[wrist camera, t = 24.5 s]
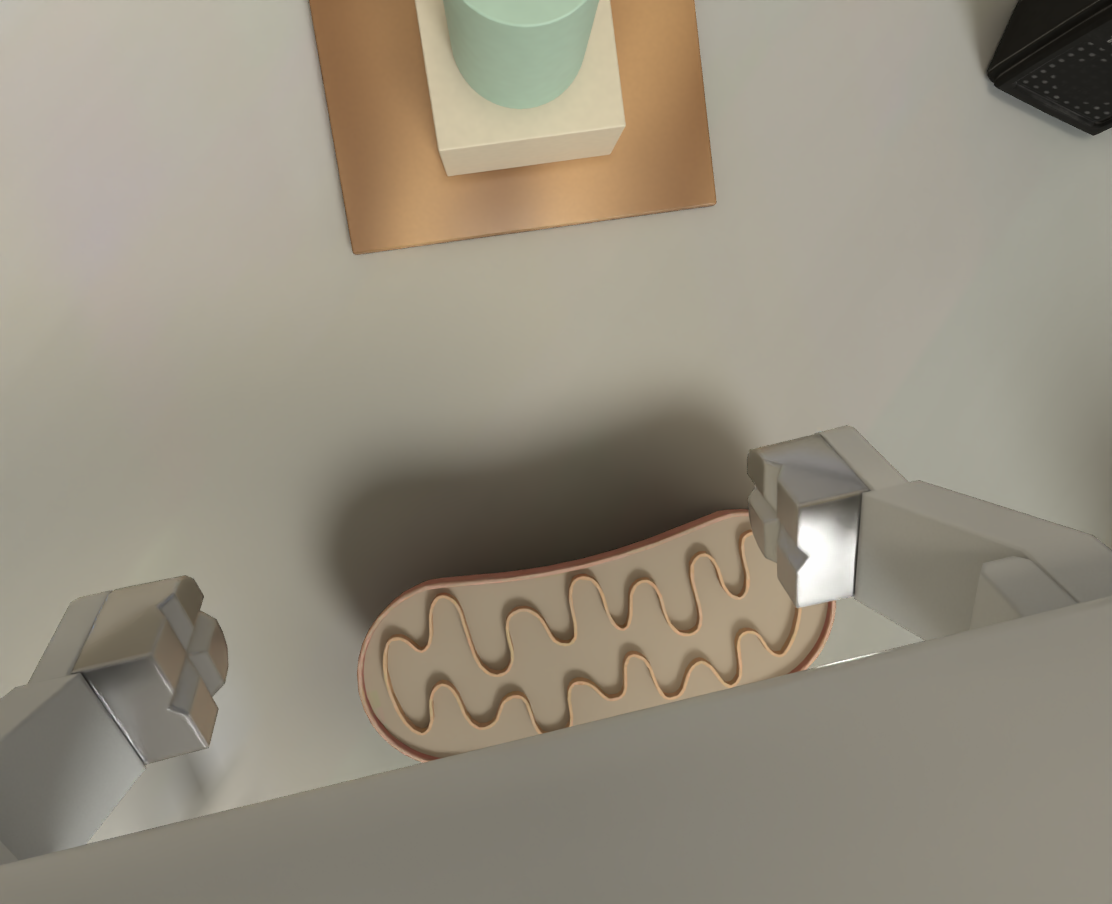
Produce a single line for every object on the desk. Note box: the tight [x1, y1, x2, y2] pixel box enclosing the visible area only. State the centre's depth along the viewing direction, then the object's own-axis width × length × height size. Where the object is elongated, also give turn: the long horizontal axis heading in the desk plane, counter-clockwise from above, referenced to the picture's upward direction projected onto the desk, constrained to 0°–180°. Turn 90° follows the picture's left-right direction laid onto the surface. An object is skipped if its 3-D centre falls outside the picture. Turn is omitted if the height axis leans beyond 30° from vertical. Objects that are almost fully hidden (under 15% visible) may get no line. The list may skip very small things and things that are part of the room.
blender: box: [415, 0, 626, 176], centre depth 31 cm, size 8×8×14 cm
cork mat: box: [309, 0, 716, 255], centre depth 38 cm, size 18×14×1 cm
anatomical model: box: [357, 509, 836, 763], centre depth 39 cm, size 23×10×5 cm, turn 103°
